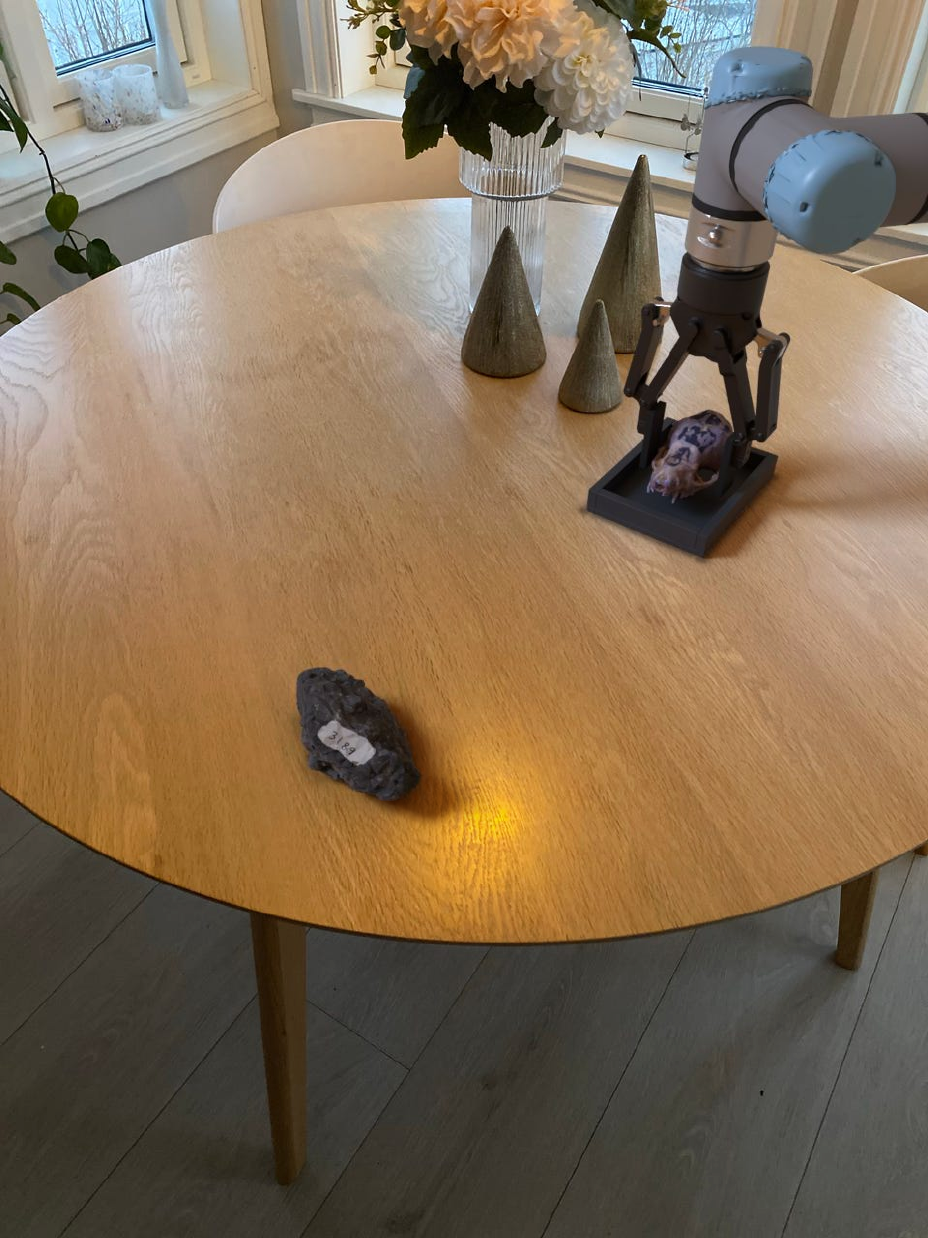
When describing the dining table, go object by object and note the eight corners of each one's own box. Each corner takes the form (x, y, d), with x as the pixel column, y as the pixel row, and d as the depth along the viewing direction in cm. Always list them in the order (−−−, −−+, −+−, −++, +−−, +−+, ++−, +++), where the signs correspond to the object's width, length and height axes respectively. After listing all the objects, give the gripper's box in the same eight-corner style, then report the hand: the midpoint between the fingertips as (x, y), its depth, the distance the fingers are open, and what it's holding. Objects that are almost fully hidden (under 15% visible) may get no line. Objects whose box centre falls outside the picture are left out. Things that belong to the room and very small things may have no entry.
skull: (679, 515, 93) (684, 457, 89) (616, 490, 98) (619, 435, 94) (748, 470, 99) (755, 415, 96) (686, 450, 104) (691, 396, 100)
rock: (245, 676, 73) (349, 634, 68) (314, 679, 80) (412, 641, 76) (278, 832, 70) (388, 799, 66) (346, 820, 77) (449, 789, 73)
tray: (773, 475, 102) (779, 455, 100) (702, 558, 92) (707, 537, 90) (663, 436, 108) (667, 416, 106) (586, 510, 97) (588, 489, 96)
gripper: (601, 241, 85) (579, 458, 100) (827, 302, 76) (765, 530, 92) (641, 215, 89) (615, 427, 105) (859, 270, 80) (795, 492, 96)
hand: (685, 475), depth 98 cm, fingers closed on skull, 8 cm apart
